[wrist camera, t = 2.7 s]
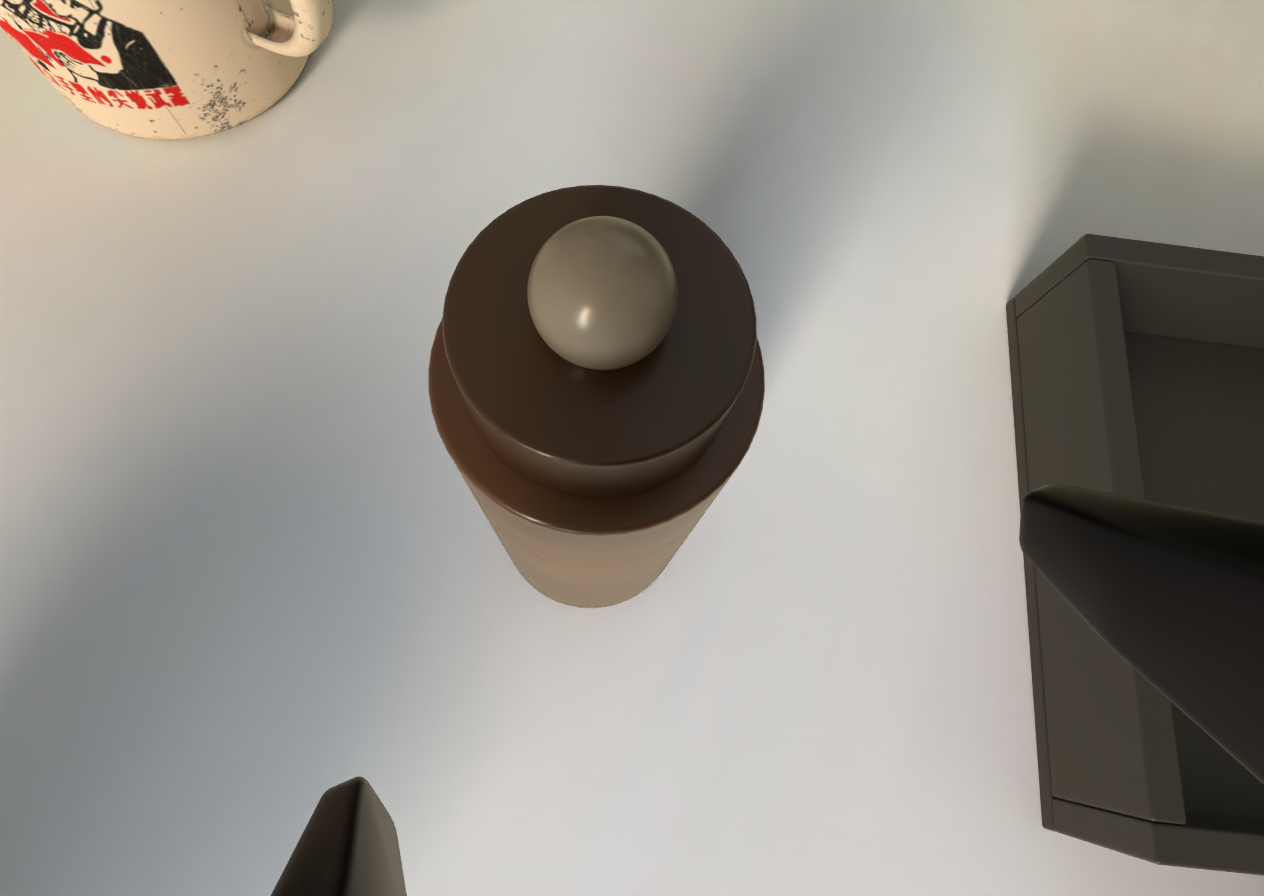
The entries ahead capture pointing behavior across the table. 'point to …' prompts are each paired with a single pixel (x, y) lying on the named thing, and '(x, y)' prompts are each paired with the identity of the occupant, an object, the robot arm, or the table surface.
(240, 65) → the teacup with lid
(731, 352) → the pepper mill
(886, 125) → the table surface
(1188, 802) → the dark grey tray
